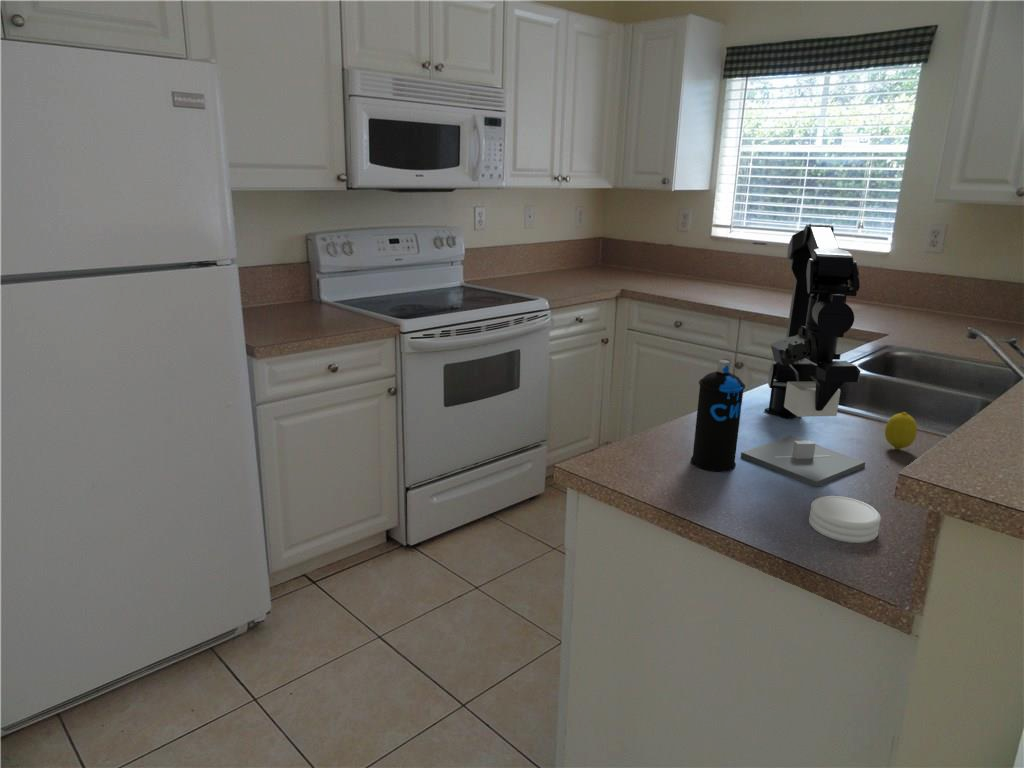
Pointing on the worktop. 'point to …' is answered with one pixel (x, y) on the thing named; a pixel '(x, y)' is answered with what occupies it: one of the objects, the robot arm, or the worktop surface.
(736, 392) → the aerosol can
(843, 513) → the white round flat disc
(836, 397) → the square tube sleeve
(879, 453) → the worktop surface
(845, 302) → the robot arm
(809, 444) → the grey peg base plate
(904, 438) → the lemon
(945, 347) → the worktop surface
